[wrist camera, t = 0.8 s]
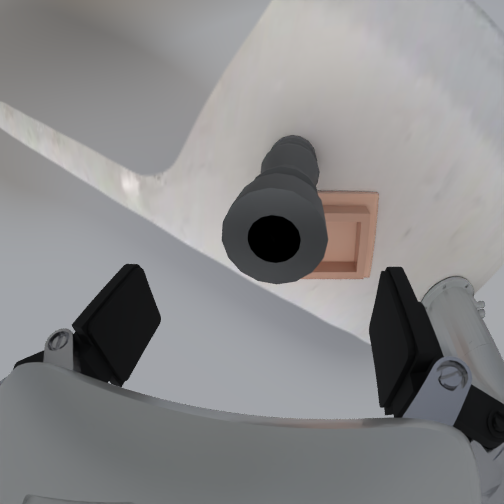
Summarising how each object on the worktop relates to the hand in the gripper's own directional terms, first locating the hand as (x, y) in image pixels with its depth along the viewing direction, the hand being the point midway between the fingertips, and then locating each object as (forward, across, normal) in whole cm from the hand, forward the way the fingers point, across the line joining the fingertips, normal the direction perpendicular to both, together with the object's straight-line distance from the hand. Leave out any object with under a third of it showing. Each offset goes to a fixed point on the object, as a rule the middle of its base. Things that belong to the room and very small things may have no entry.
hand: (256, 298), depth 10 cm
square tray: (+30, -5, +12) cm, 33 cm away
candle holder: (+30, 0, 0) cm, 30 cm away
